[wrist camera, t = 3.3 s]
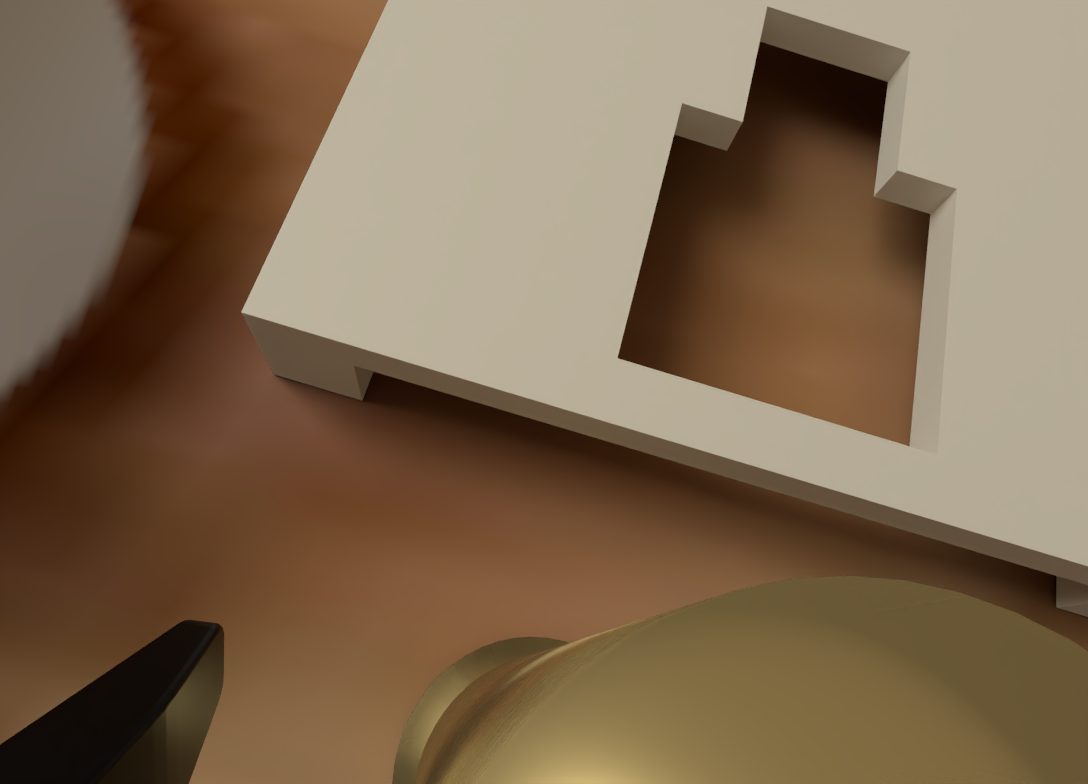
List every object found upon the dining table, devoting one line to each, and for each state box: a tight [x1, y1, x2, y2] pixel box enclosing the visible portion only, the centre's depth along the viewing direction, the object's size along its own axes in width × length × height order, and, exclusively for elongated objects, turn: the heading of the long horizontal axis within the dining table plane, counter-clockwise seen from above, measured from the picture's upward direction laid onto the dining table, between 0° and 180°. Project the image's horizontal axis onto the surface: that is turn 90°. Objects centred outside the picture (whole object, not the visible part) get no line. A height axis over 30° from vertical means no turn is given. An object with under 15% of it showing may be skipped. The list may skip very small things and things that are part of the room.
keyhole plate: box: [241, 0, 1088, 617], centre depth 19 cm, size 16×20×3 cm
